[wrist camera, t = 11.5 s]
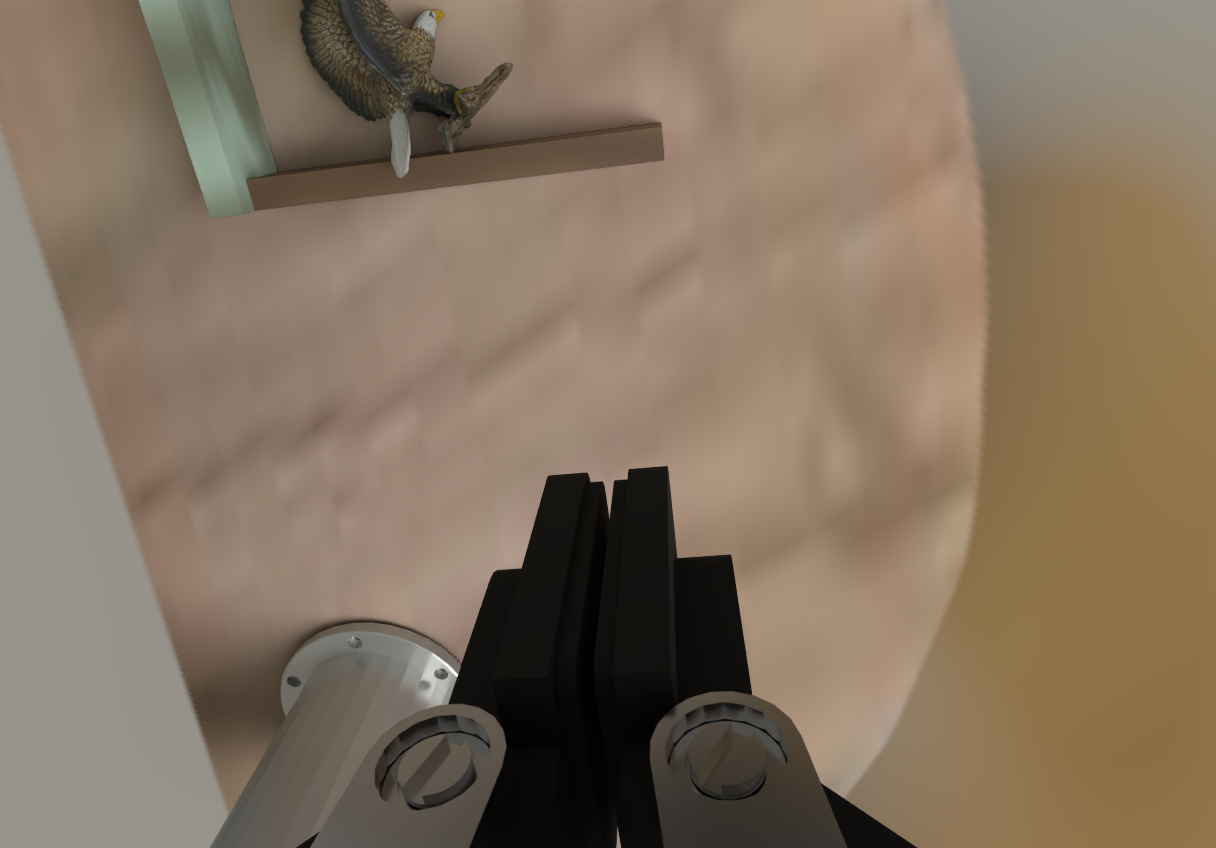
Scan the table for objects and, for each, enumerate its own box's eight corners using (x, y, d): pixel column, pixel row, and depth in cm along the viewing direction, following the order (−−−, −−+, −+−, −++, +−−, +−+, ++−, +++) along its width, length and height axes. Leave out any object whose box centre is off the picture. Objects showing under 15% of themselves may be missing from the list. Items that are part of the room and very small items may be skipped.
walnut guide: (663, 153, 34) (664, 162, 30) (255, 204, 36) (210, 218, 32) (635, -175, 29) (631, -210, 25) (165, -94, 31) (99, -117, 28)
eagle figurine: (549, 15, 31) (353, -165, 27) (485, 114, 27) (248, -81, 24) (466, 128, 37) (295, -9, 33) (404, 223, 33) (203, 79, 29)
